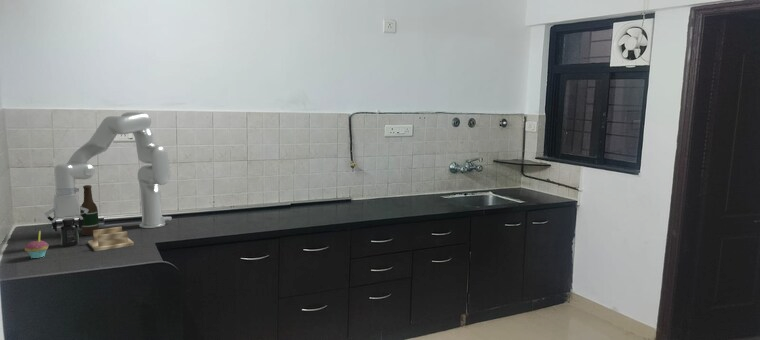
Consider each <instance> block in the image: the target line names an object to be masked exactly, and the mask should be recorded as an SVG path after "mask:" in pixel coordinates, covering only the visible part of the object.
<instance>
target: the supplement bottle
mask: <svg viewBox="0 0 760 340" xmlns="http://www.w3.org/2000/svg"><path fill="white" fill-rule="evenodd" d="M61 221H62V225H61V226H60V240H61V241H60V242H61V246H62V247H63V246H64V248H70V246H71V247H77V246H78V245H79V243H80V242H79V238H80V237H79V225H77V224H76V220H75V218H74V217H65V218H62V219H61Z"/></svg>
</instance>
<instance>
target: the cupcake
mask: <svg viewBox="0 0 760 340" xmlns="http://www.w3.org/2000/svg"><path fill="white" fill-rule="evenodd" d="M41 234H42V233H41V230H39V231H38V238H37V240H34V241H33V240H32V241H29V242H28V243H27V244H25V246H24V251H25V252H27V253H28V254H29V256H30V258H31V259H32V258H39V257H43V256H44V257H46V252H47V250H48V249H49V246H50V245H49V243H48V242H46V241H44V240H41ZM44 257H43V258H44Z"/></svg>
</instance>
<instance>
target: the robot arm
mask: <svg viewBox="0 0 760 340" xmlns="http://www.w3.org/2000/svg"><path fill="white" fill-rule="evenodd" d="M151 124H152V117H150V115H149V114H147V113H146V112H135V111H134V112H133V111H130V112H124V113H122V114H121V115H119V116H115V115H113V116H110V115H109V116H107V117H105V118H103V120H102V121H101V122H100V124H99V125H98V127H97V128H96V130H95V132H94V133H93V134H92V136H91V138H90V139H89V140H88V141H87V142H86V143H83V145H82V146H80V147H79V148H78V149H77V150H76V151H75V152H74V153H72V156H71V157H70V158H69V159H68V160H67V163H62V164H56V165H55V166H54V175H55V192H56V194H55V195H54V197H53V206H52V207H53V208H51V209H50V210H48V211H46V212H44V215H45V217H46V218H47V219H48V220H49V221H50V222H51V223H52V230H54V231H55V232H57V231H58V226H57V225H58V223H57V220H58V219H61V218H62V219H65V218H74V217H77V218H78V220H77V222H78V223H77V224H78V225H77V226H78V229H80V230H81V226H83V221H82V220H83V218H84V217H85V216H86V215H87V213H88V211H89V210H88V209H87V208H84V207H81V205H80V199H79V195H78V193H77V192H80V188H76V180H89V179H91V178H92V177H94V176H95V173H96V172H95V171H96V170H95V168H94V166H93V165H92V164H90V163H88V162H89V160H90V159H92V158H93V157H94V158H95V156H97V155H98V156H99V155H100V154H102V153H104V152H106V151H107V150H108V149H109V148H110V146H111V144H112V143H113V141H114V139H115V138H116V136H118V135H127V134H128V135H129V134H132V135H133V137H134V140H135V145H136V146H135V147H136V152H137V158H138V161H140V162H141V163H144V164H146V165H143V166H141V167H140V168H139V169H138V172H137V180H138V184H139V189H140V206H141V223H139V225H138V226H139V227H140V228H142V229H155V228H160V227H164V226H165V225H166V221H172V219H173V218H172V216H163V215H162V214H163V213H162V198H161V197H162V194H161V187H160V186H163V185H166V184H167V183H168V182H169V181H170V180H171V179H170V177H171V170H170V162H169V161H170V160H169V155H168V152H167V150H166V149H165V147H164V146H162V145H158V144H155V140H154V136H153V132H152V130H151V128H150V126H151ZM80 209H81V210H84V213H83V214H82V215H80ZM50 214H53V217H52V216H50Z"/></svg>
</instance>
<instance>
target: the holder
mask: <svg viewBox="0 0 760 340" xmlns="http://www.w3.org/2000/svg"><path fill="white" fill-rule="evenodd" d="M128 232H129V231H123V227H122V226H116V227H109V228H102V229H100V228H99V230H93V235H92V236H93V240H88V245H89V246H90V248H91V249H93V251H94V252H99V251H105V250H111V249H118V248H127V247H132V246H135V243H134V241H133V240H131V239H130V238H129V235H128V234H129V233H128Z"/></svg>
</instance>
